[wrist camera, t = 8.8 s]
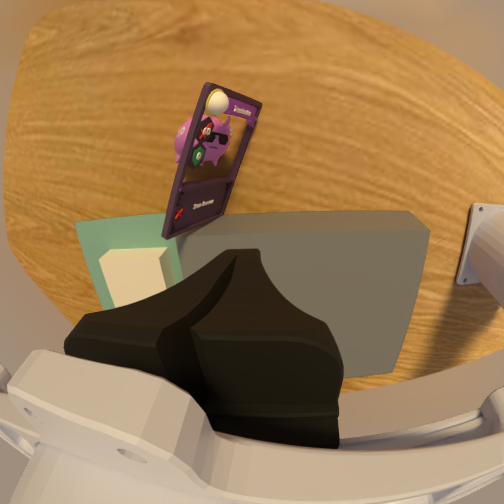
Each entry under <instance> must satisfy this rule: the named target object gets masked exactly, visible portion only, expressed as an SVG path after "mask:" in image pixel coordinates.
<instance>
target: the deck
mask: <svg viewBox="0 0 504 504" xmlns="http://www.w3.org/2000/svg"><path fill="white" fill-rule="evenodd" d="M429 235H430V229H429V228H428V227H426V226H425V225H424V224H423V223H422V222H421V221H420V220H418V219H417V218H416V217H415V216H414V215H413V214H411V213H410V212H409V211H313V212H279V213H254V214H234V215H222V216H221V217H219V218H218V219H216V220H214V221H212V222H209V223H207V224H204V225H202V226H200V227H197V228H195V229H192V230H190V231H188V232H185V233H183V234H180V235H178V236H176V237H175V241H176V246H177V251H178V256H179V261H180V265H181V270H182V275H183V279H186V278H187V277H189V276H190V275H191V274H193V273H194V272H196V271H197V270H199V269H200V268H202V267H203V266H204V265H206V264H207V263H208V262H210V261H211V260H212V259H214V258H215V257H216V256H218V255H219V254H220V253H222V252H223V251H225V250H226V249H252V248H258V249H259V250H260V252H261V262H262V265H263V267H264V269H265V271H266V273H267V275H268V276H269V278H270V280H271V281H272V283H273V284H274V285H275V287H276V288H277V289H278V290H279V292H280V293H281V294H282V295H283V296H284V297H285V298H286V299H287V300H288V301H290V302H291V303H292V304H293V305H294V306H296V307H297V308H299V309H300V310H302V311H303V312H305V313H307V314H309V315H311V316H313V317H315V318H317V319H319V320H322V321H324V322H325V323H326V324H327V325H328V327H329V329H330V331H331V333H332V335H333V337H334V339H335V341H336V343H337V346H338V348H339V351H340V354H341V357H342V360H343V365H344V377H343V378H351V377H362V376H371V375H380V374H387V373H393V370H394V367H395V365H396V362H397V359H398V356H399V354H400V351H401V348H402V345H403V342H404V339H405V336H406V333H407V329H408V326H409V323H410V319H411V316H412V312H413V309H414V305H415V301H416V298H417V294H418V290H419V286H420V281H421V277H422V272H423V268H424V263H425V258H426V253H427V247H428V241H429Z"/></svg>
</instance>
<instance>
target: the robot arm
mask: <svg viewBox="0 0 504 504" xmlns="http://www.w3.org/2000/svg"><path fill="white" fill-rule="evenodd" d="M480 207H481V209H480V211H479V208H480ZM464 279H465V280H464ZM456 283H457V284H458V285H465V284H474V283H481V284H482V285H483V286H484V287H485V288H486V289H487V290H488V291H489V293H490V294H491V295H492V296H493V297H494V298H495V299H496V301H497V302H498V303H499V304H500V305H501V307H502V308H503V309H504V205H500V204H488V203H474V204H473V205H472V207H471V212H470V219H469V225H468V230H467V235H466V240H465V245H464V250H463V254H462V258H461V262H460V266H459V270H458V274H457V278H456ZM64 351H65V354H61V353H58V352H54V351H51V350H33V351H32V353H31V354H30V355H29V356H28V358H27V359H26V360H25V362H24V363H23V364H22V365H21V367H20V368H19V369H18V371H17V372H16V373H15V375H14V376H13V377H12V376H11V375H10V373H9V372H8V370H7V369H6V368H5V367H4V366H3V365H2V364H1V363H0V437H1V438H3V439H4V440H5V441H6V442H8V443H9V444H10V445H12V446H13V447H14V448H16V449H17V450H18V451H20V452H21V453H22V454H24V455H25V456H27V457H28V458H29V459H30V460H29V462H28V464H27V466H26V468H25V470H24V472H23V474H22V476H21V478H20V480H19V483H18V485H17V487H16V489H15V491H14V493H13V496H12V498H11V500H10V503H9V504H448V503H451V502H453V501H455V500H457V499H460V498H462V497H464V496H466V495H468V494H471V493H473V492H474V491H477V490H479V489H481V488H483V487H485V486H487V485H488V484H490V483H492V482H494V481H496V480H498V479H499V478H501V477H503V476H504V386H503V387H500V388H498V389H496V390H494V391H493V392H492V393H491V394H490V395H489V396H488V397H487V398H486V399H485V401H484V402H483V404H482V405H481V407H480V408H478V409H475V410H473V411H470V412H467V413H464V414H461V415H458V416H455V417H451V418H448V419H444V420H441V421H437V422H434V423H430V424H426V425H422V426H418V427H413V428H409V429H404V430H399V431H394V432H389V433H383V434H376V435H370V436H363V437H355V438H346V439H339V428H338V418H337V417H338V416H339V406H338V398H339V394H340V390H341V386H342V381H343V377H344V365H343V360H342V357H341V354H340V351H339V348H338V346H337V343H336V341H335V339H334V337H333V335H332V333H331V331H330V329H329V327H328V325H327V324H326V323H325V322H324V321H322V320H319V319H317V318H315V317H313V316H311V315H309V314H307V313H305V312H303V311H302V310H300V309H299V308H297V307H296V306H294V305H293V304H292V303H291V302H290V301H288V300H287V299H286V298H285V297H284V296H283V295H282V294H281V293H280V292H279V290H278V289H277V288H276V287H275V285H274V284H273V283H272V281H271V280H270V278H269V276H268V275H267V273H266V271H265V269H264V267H263V265H262V262H261V252H260V250H259V249H258V248H252V249H226V250H225V251H223V252H222V253H220V254H219V255H218V256H216V257H215V258H214V259H212V260H211V261H210V262H208V263H207V264H206V265H204V266H203V267H202V268H200V269H199V270H197V271H196V272H194V273H193V274H191V275H190V276H189V277H187V278H186V279H184V280H182V281H181V282H179V283H177V284H175V285H174V286H172V287H170V288H168V289H166V290H164V291H162V292H159V293H157V294H155V295H152V296H150V297H147V298H145V299H143V300H140V301H137V302H134V303H131V304H128V305H124V306H121V307H117V308H113V309H109V310H104V311H99V312H94V313H89V314H85V315H84V316H83V317H82V319H81V320H80V321H79V322H78V324H77V325H76V326H75V328H74V329H73V330H72V331H71V333H70V334H69V335H68V337H67V338H66V339H65V341H64Z"/></svg>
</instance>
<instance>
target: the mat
mask: <svg viewBox="0 0 504 504" xmlns="http://www.w3.org/2000/svg"><path fill="white" fill-rule="evenodd" d="M165 216H166V213H158V214H147V215H136V216H126V217H116V218H107V219H98V220H89V221H81V222H76V223H75V227H76V231H77V234H78V238H79V241H80V244H81V248H82V251H83V254H84V257H85V260H86V263H87V266H88V269H89V272H90V275H91V278H92V281H93V283H94V286H95V289H96V292H97V294H98V297H99V299H100V302H101V304H102V307H103V309H104V310H109V309H113V308H115V305H114V303H113V300H112V297H111V294H110V292H109V289H108V286H107V283H106V280H105V277H104V274H103V271H102V268H101V265H100V262H99V259H100V258H101V257H102V256H103V255H104V254H105V253H107V252H108V251H109V250H110V249H134V248H159V247H168V251H169V255H170V260H171V264H172V269H173V273H174V277H175V281H176V284H177V283H179V282H181V281H182V280H184V279H183V275H182V270H181V265H180V261H179V256H178V251H177V246H176V241H175V237H173V238H171V239H169V240H166V239H164V238H163V237H162V236H161V234H162V229H163V225H164V220H165Z"/></svg>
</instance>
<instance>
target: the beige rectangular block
mask: <svg viewBox="0 0 504 504" xmlns="http://www.w3.org/2000/svg"><path fill="white" fill-rule="evenodd" d="M99 262H100V265H101V268H102V271H103V274H104V277H105V280H106V283H107V286H108V289H109V292H110V294H111V297H112V300H113V303H114V305H115V308H117V307H121V306H124V305H128V304H131V303H134V302H137V301H140V300H143V299H145V298H147V297H150V296H152V295H155V294H157V293H159V292H162V291H164V290H166V289H168V288H170V287H172V286H174V285H175V284H176V281H175V277H174V273H173V269H172V264H171V260H170V255H169V251H168V247H159V248H134V249H110V250H109V251H108V252H107V253H105V254H104V255H103V256H102V257H101V258H100V259H99Z"/></svg>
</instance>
